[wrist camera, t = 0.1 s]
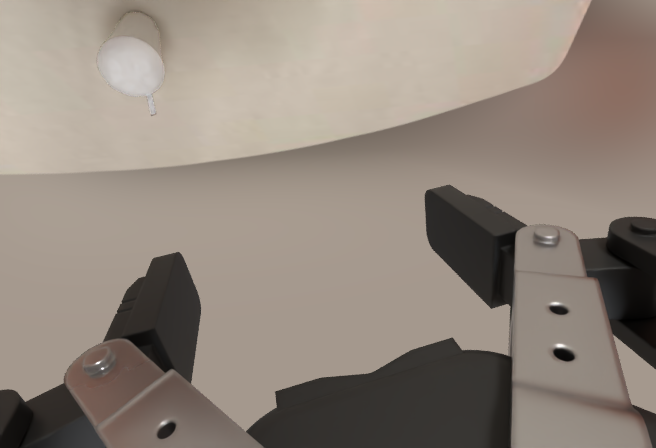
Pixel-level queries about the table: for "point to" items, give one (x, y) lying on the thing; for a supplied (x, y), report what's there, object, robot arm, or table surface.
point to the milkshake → (133, 57)
